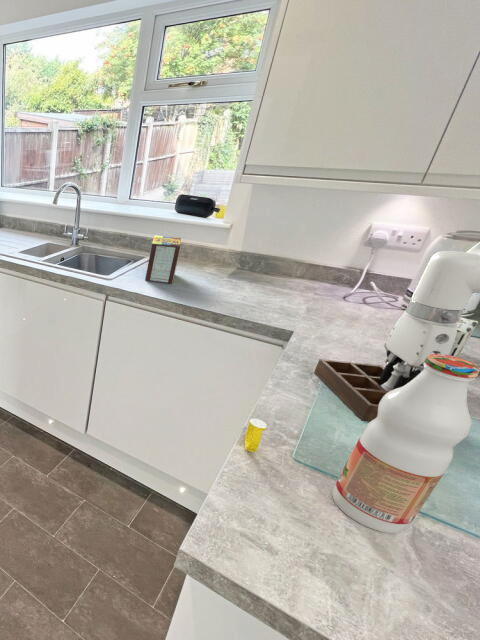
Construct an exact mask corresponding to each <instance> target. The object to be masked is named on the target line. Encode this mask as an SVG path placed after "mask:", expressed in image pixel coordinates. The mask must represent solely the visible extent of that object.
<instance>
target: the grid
mask: <svg viewBox="0 0 480 640" xmlns="http://www.w3.org/2000/svg"><path fill="white" fill-rule="evenodd" d="M385 367H386V366H384V365H382V364H381V365H380V364H374V363H373V364H372V363H362V362H353V361H352V362H351V361H342V360H333V359H332V360H331V359H322V358H319V360H318V362H317V364H316V366H315V369H314V371H313V374H314V375H315V376H316V377H317V378H318V379H319V380H320V381H321V382H322V383H323V384H324V385H325V386H326V387H327V388H328V389H329V390H330V391H331V392H332V393H333V394H334V395H335V396H336V397H337V398H338V399H339V400H340V401H341V402H342V403H343V404H344V405H345V406H346V407H347V408H348V409H349V410H350V411H351V412H352V413H353V414H354V415H355V416H356V417H357V418H358V419H359V420H360V421H361V422H364V423H365V422H366V423H369V422H370V421H372V420H373V419H375V418H376V417H377V414H378V405H379V402H380V401H381V399H382V398H383V396H384V395H385V394H386V393H388V392H390V391H386V390H385V389H384V388H382V387H381V386H380V385H382V384H384V383H385V381H381V380H380V377H381V375H382V373H383V371H384V369H385Z"/></svg>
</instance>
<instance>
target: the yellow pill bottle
mask: <svg viewBox="0 0 480 640" xmlns="http://www.w3.org/2000/svg"><path fill="white" fill-rule="evenodd" d="M267 427H268V425H267V423H266V422H264V421H263V420H262V419H259V418H251V419H249V421H248V426H247V429H246V434H245V437H244V450H245V451H248V452H251V453H256V452H257V450H258V448H259V447H260V443H261V439H262V434H263V431H266V430H267Z"/></svg>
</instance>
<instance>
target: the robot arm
mask: <svg viewBox="0 0 480 640" xmlns="http://www.w3.org/2000/svg"><path fill="white" fill-rule="evenodd" d="M473 294H480V241H479V242H477V243H476V244H475V245H473V246H472V247H471V248H470V249H469V250H467V251H459V250H440V251H437V252H435V253H434V254H433V255H432V256H431V257H430V259H429V261H428V263H427V265H426V267H425V269H424V271H423V274H422V275H421V277H420V280H419V281H418V284H417V285H416V289H415V290H414V292H413V294H412V296H411V298H410V301H409V303H408V304H407V305H406V306H407V307H406V308H405V310H404V312H403V313H401V315H400V317H399V319H398V320H397V321H396V323H395V324H394V326H393V328H392V330H391V331H390V333H389V336H388V337H387V339H386V342H385V343H384V350H385V351H386V357H387V358H386V360H385V364H386V365H385V366H384V367H385V369H384V371H383V373H382V375H381V377H380V380H381V381H385V382H387V381H388V380H389V378H390V377H391V375H392V372H393V371H394V368H393V366H394V365H397V363H398V362H399V363H401V362H402V363H404V364H405V365H406V364H407V365H406V367H405V370H404V373H403V375H400V376H399V377H398V379H397V381H396V383H395V385H394V387H393V390H394V389H397V388H400V387H403V386H404V385H406V384H407V383H409V382H410V381H411V380H413V379H414V378H415V377H416V376H417V375H419V374H420V373H421V372H422V371H423V370H424V366H423V364H424V361H425V359H426V358H427V357H428V356H429V355H430V354H445V355H449V353H450V351H451V348H452V346H453V343H454V340H455V337H456V333H457V328H458V326H456V325H455V324H456V323H457V321H458V320H459V317H462V314H463V312H464V310H465V308H466V307H467V304H468V303H469V301H470V299H471V297H472V296H473ZM414 368H418V369H417V370H415V371H412V370H414Z"/></svg>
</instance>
